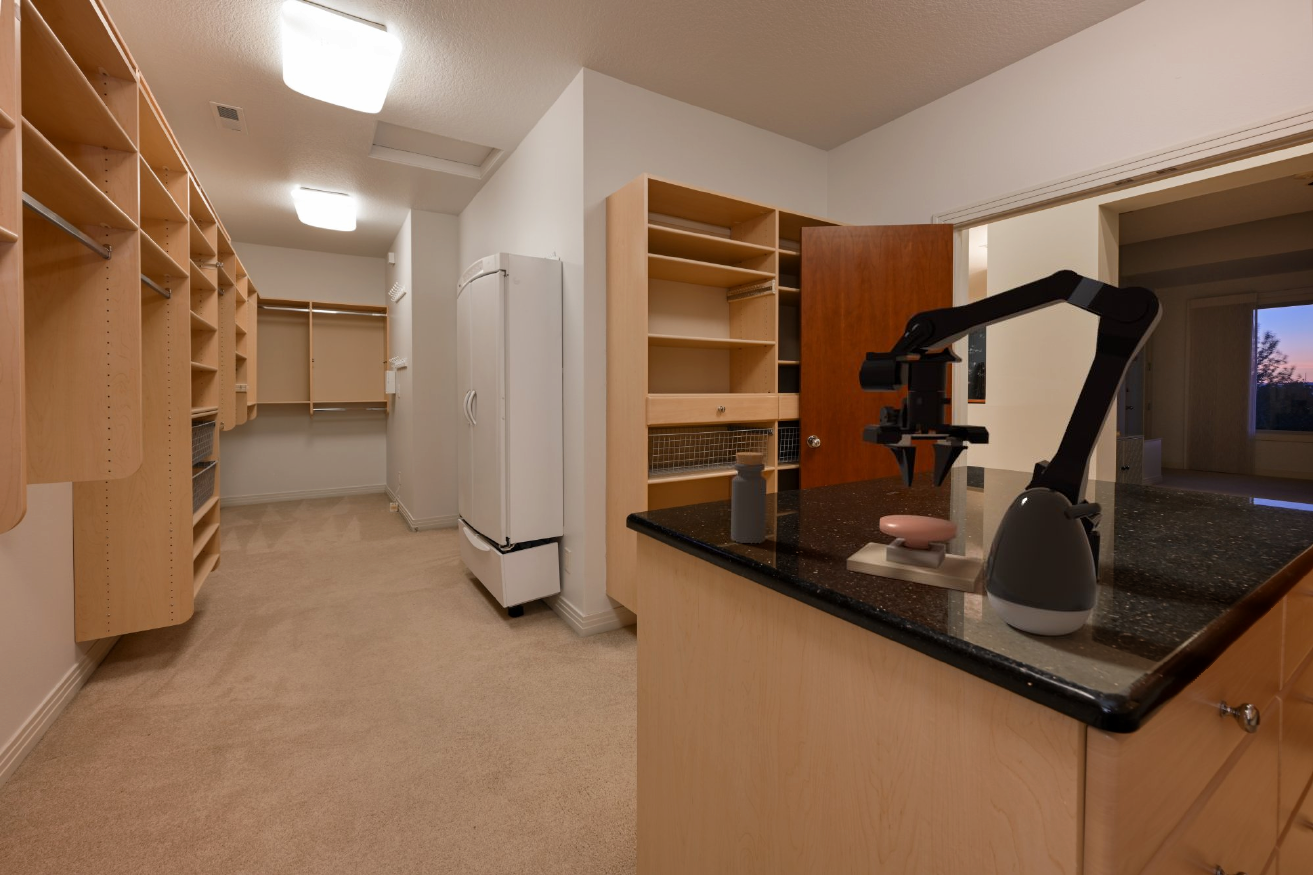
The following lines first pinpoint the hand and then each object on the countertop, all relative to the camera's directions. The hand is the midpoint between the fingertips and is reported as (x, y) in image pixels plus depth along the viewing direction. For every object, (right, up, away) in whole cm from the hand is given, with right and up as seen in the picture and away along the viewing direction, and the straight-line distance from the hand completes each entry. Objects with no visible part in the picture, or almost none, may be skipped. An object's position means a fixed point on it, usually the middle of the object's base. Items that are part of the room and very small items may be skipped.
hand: (922, 486), depth 94 cm
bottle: (-28, -10, +5) cm, 30 cm away
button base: (-6, -11, -12) cm, 17 cm away
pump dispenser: (-2, -13, -32) cm, 34 cm away
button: (-6, -7, -12) cm, 16 cm away
